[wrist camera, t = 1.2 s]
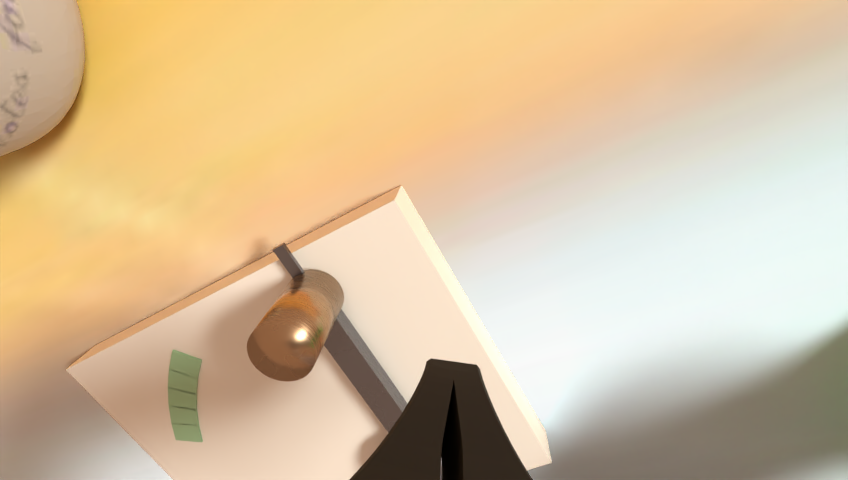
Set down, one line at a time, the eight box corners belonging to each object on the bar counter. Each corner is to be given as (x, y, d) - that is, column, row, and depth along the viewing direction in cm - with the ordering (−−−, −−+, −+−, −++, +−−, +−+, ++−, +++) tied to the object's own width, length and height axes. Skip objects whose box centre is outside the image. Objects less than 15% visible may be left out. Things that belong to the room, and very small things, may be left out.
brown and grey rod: (491, 473, 23) (496, 556, 19) (414, 497, 24) (403, 580, 20) (324, 221, 18) (288, 266, 15) (238, 266, 20) (185, 319, 16)
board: (545, 431, 24) (552, 464, 23) (262, 524, 30) (247, 558, 28) (401, 184, 20) (394, 200, 18) (95, 345, 25) (63, 371, 23)
